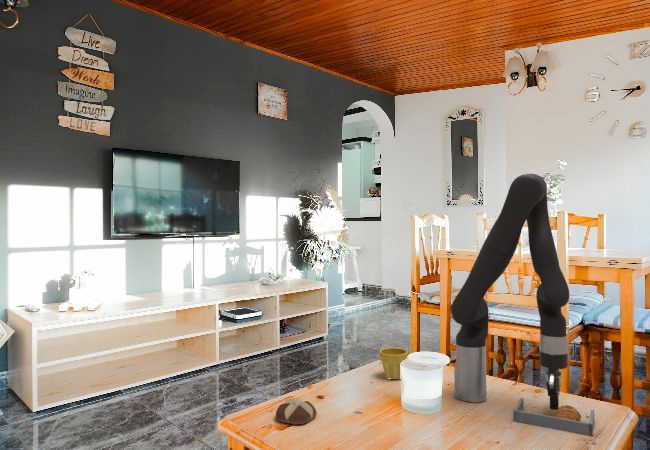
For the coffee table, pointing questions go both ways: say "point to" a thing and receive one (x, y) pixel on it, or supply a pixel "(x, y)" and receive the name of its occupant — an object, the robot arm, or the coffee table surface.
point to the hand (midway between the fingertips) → (554, 408)
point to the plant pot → (392, 361)
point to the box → (553, 421)
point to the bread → (296, 411)
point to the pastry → (567, 413)
